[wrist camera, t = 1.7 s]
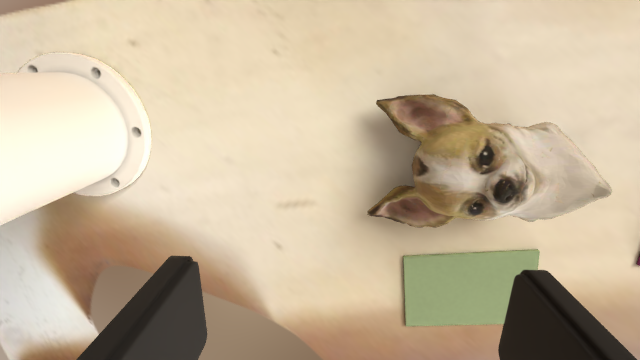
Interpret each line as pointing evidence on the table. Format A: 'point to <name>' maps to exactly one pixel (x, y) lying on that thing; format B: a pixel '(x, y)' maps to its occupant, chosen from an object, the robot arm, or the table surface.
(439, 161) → the ceramic sculpture
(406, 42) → the table surface
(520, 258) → the sage cloth
